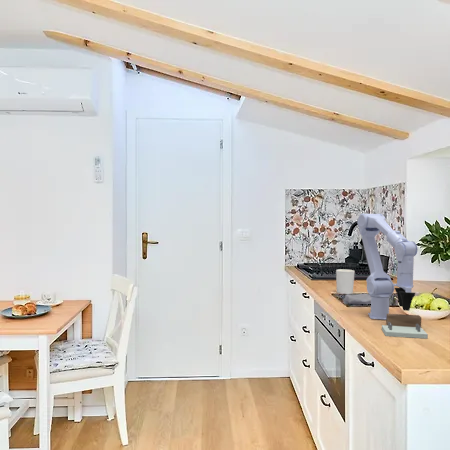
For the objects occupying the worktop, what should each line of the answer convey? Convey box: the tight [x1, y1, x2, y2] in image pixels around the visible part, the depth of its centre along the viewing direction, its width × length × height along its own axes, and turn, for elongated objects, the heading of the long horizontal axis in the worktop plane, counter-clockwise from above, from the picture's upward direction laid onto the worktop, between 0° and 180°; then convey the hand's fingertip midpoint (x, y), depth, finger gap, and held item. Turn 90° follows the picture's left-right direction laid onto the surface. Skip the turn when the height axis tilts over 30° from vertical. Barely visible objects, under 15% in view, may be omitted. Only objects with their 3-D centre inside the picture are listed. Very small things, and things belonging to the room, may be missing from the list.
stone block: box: [344, 293, 371, 306], centre depth 230 cm, size 12×5×10 cm
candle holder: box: [335, 268, 356, 295], centre depth 257 cm, size 10×10×12 cm
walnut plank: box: [385, 313, 422, 328], centre depth 184 cm, size 4×12×4 cm, turn 80°
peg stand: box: [381, 322, 429, 339], centre depth 173 cm, size 10×14×4 cm
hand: (404, 308), depth 184 cm, fingers open, 7 cm apart
